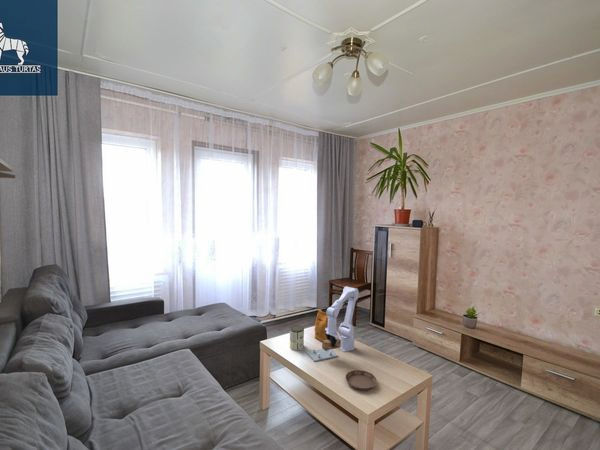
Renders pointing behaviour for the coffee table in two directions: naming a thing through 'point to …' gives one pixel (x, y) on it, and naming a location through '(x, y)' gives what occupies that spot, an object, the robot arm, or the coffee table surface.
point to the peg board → (321, 354)
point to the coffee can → (296, 337)
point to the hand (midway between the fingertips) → (331, 345)
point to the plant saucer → (361, 380)
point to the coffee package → (321, 325)
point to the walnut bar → (327, 344)
